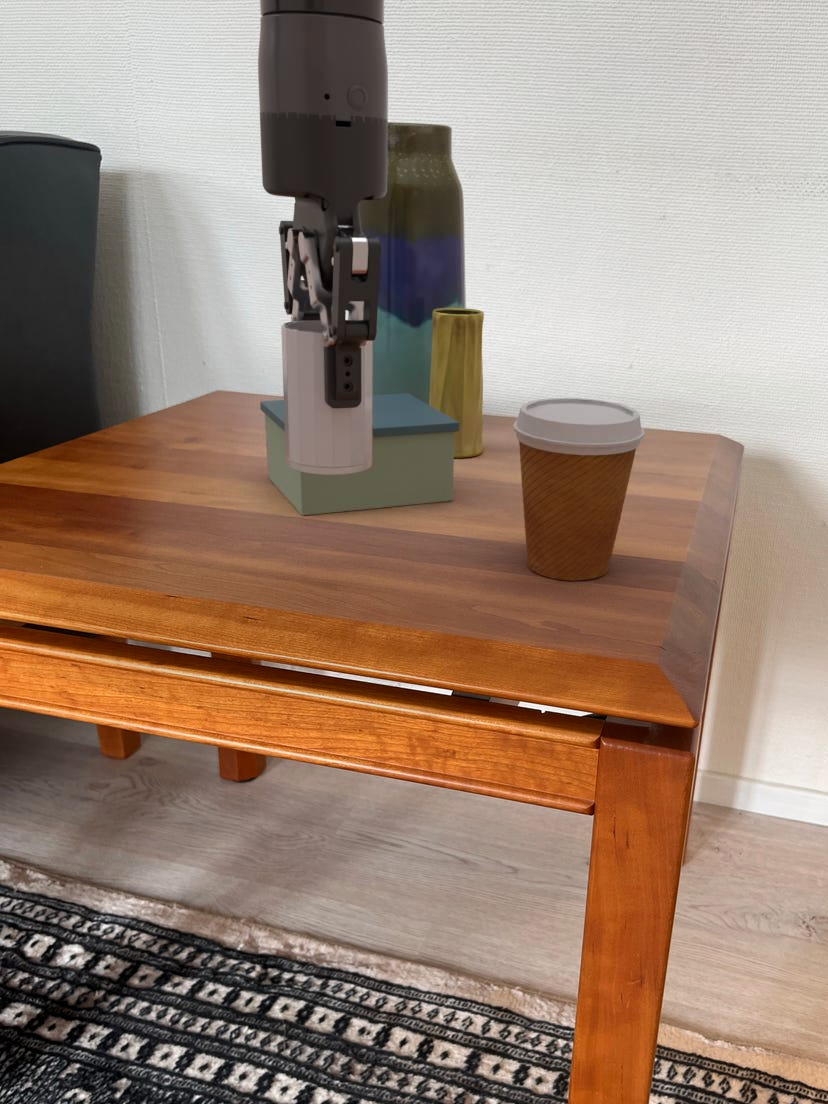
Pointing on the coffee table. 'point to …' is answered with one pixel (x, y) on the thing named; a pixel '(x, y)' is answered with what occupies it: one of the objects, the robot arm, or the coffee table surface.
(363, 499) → the container
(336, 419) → the cup
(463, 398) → the vase
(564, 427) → the disposable coffee cup
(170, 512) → the coffee table surface
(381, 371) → the vase
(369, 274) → the robot arm
